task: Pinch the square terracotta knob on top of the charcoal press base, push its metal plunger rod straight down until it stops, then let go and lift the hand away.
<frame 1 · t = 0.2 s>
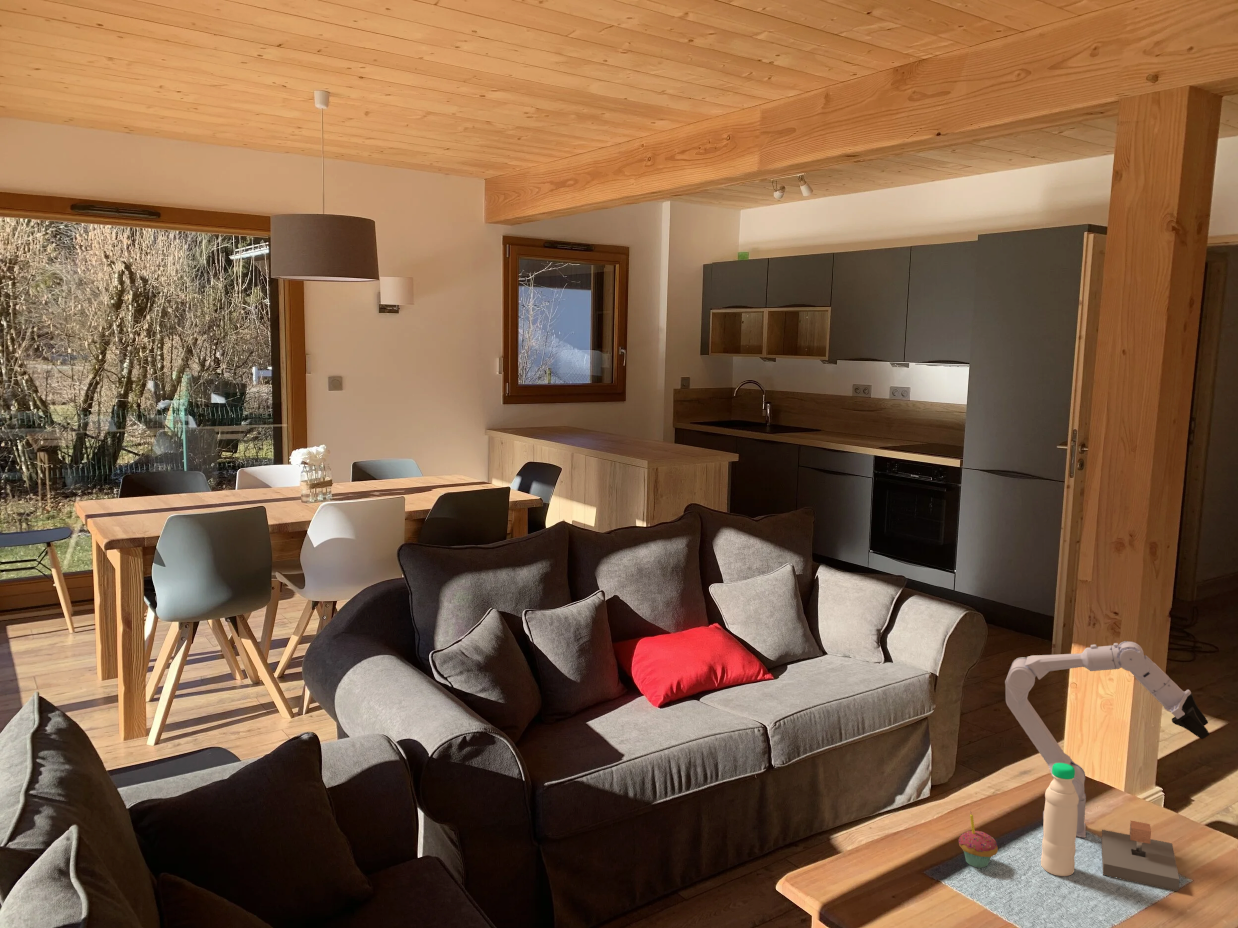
hand: (1205, 730, 225), 31 cm above the table, tool tilted 45°, fingers open, 7 cm apart
cupcake: (977, 862, 224), on the table
press base: (1137, 864, 224), on the table
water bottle: (1057, 870, 221), on the table
plunger: (1138, 852, 224), point 3 cm above the table, slide at 3.0 cm
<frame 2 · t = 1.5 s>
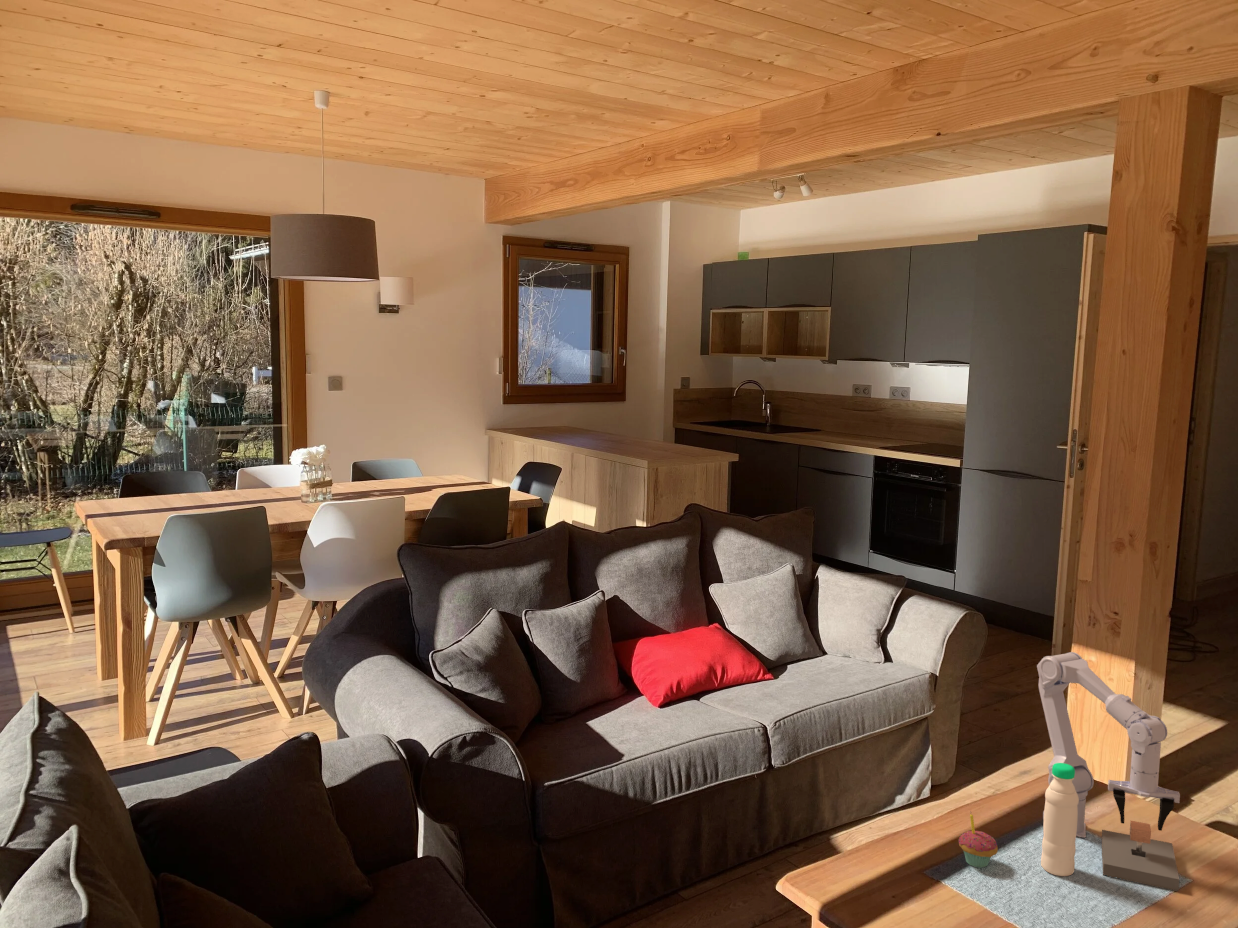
hand: (1140, 824, 223), 10 cm above the table, tool pointing down, fingers open, 7 cm apart
nothing on the table moved.
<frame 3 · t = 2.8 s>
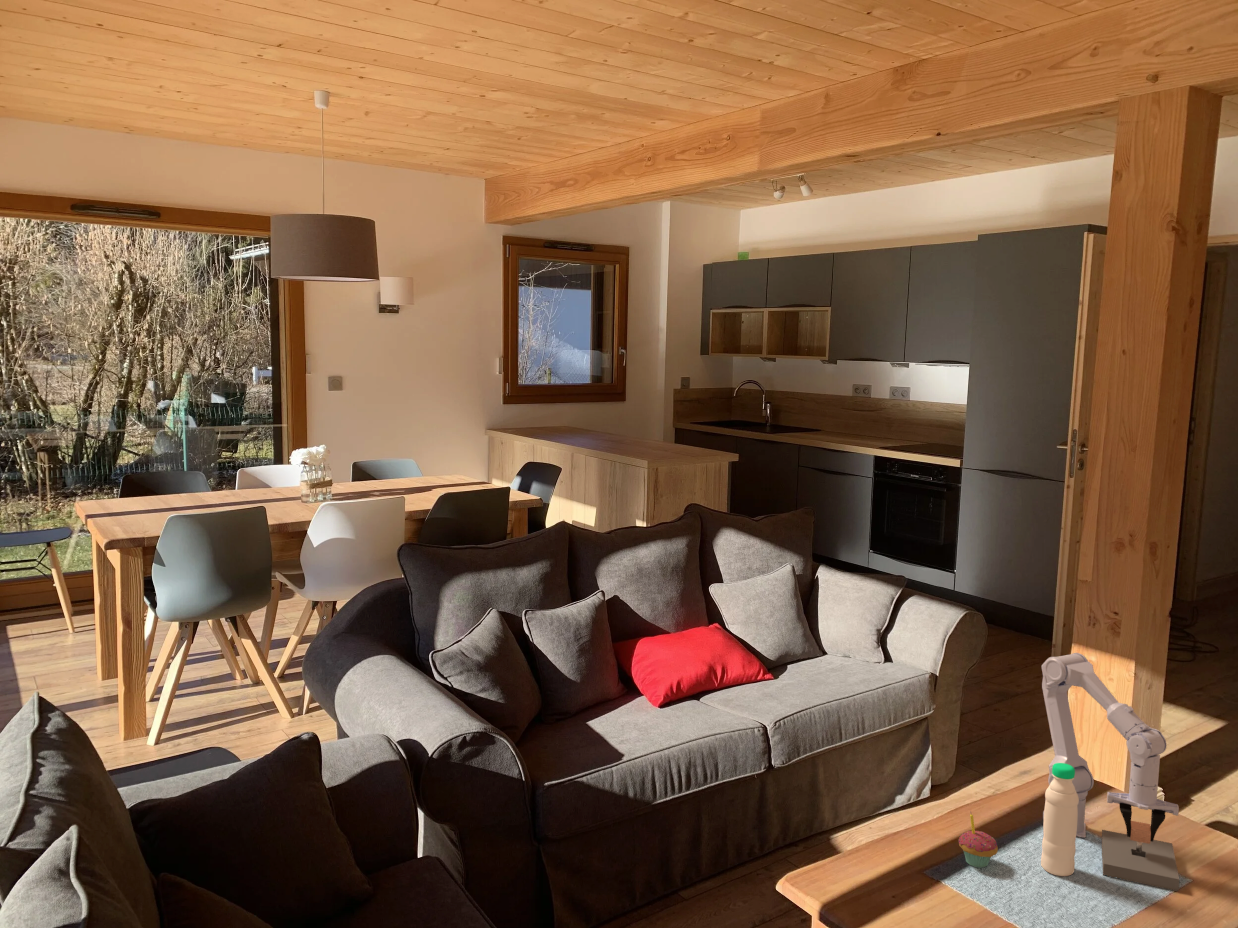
hand: (1139, 837, 223), 7 cm above the table, tool pointing down, fingers closed on plunger, 4 cm apart
plunger: (1138, 852, 224), point 3 cm above the table, slide at 3.0 cm, touching gripper
everything else where it was.
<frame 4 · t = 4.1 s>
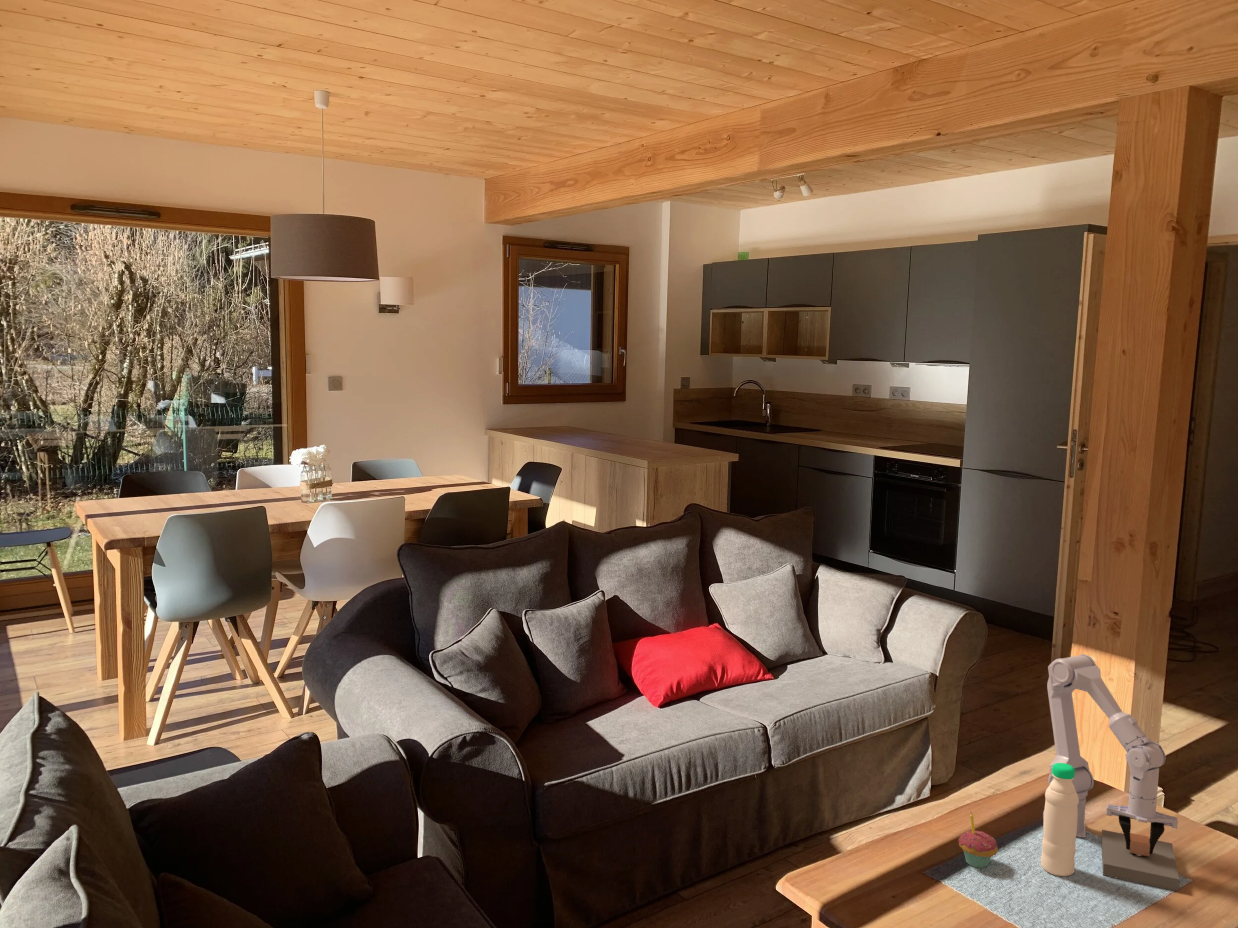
hand: (1138, 849, 224), 4 cm above the table, tool pointing down, fingers closed on plunger, 4 cm apart
plunger: (1137, 864, 224), resting on press base, slide at -0.1 cm, touching gripper
everything else where it was.
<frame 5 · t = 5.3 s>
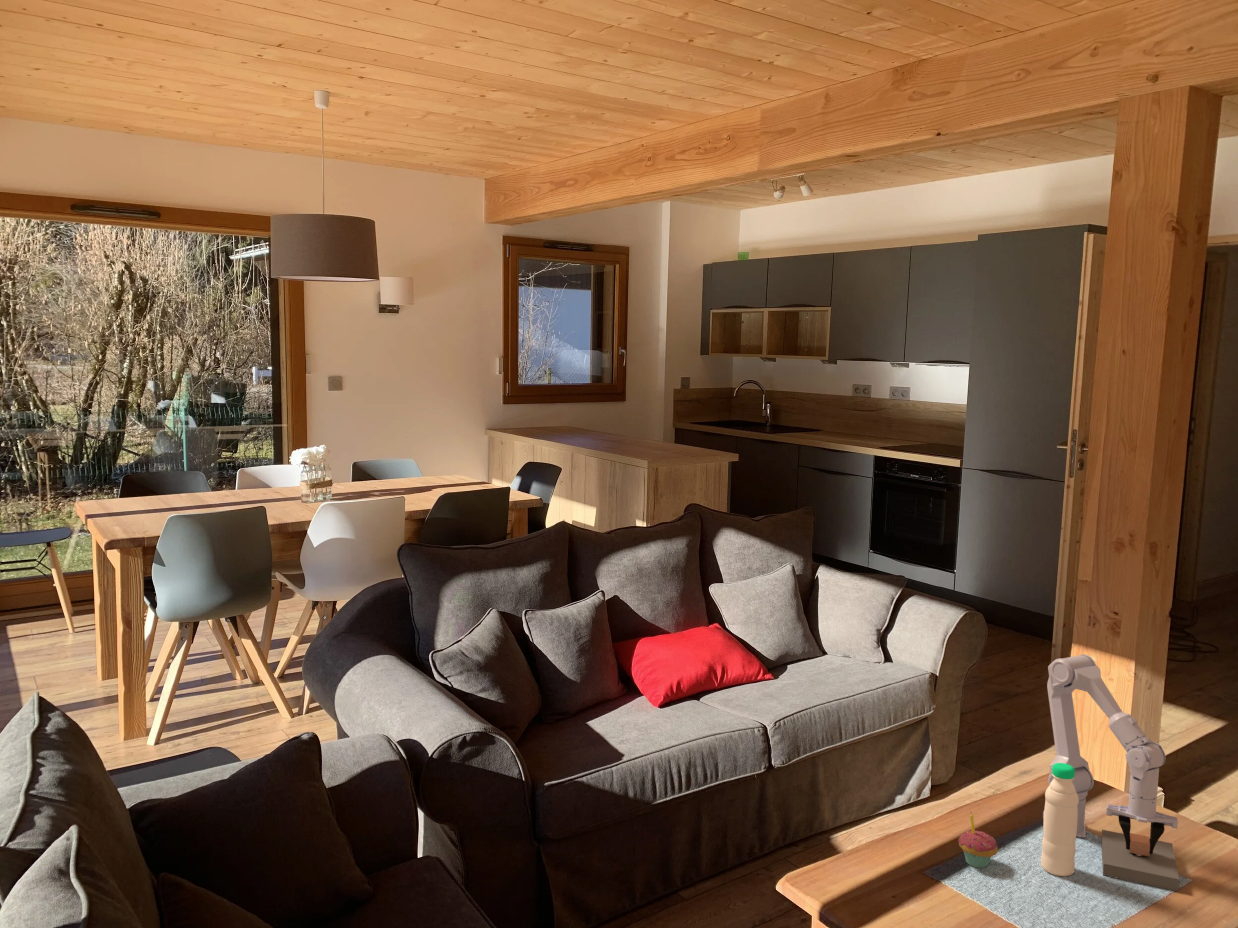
hand: (1138, 849, 224), 4 cm above the table, tool pointing down, fingers open, 4 cm apart
plunger: (1137, 864, 224), resting on press base, slide at -0.1 cm, touching gripper
everything else where it was.
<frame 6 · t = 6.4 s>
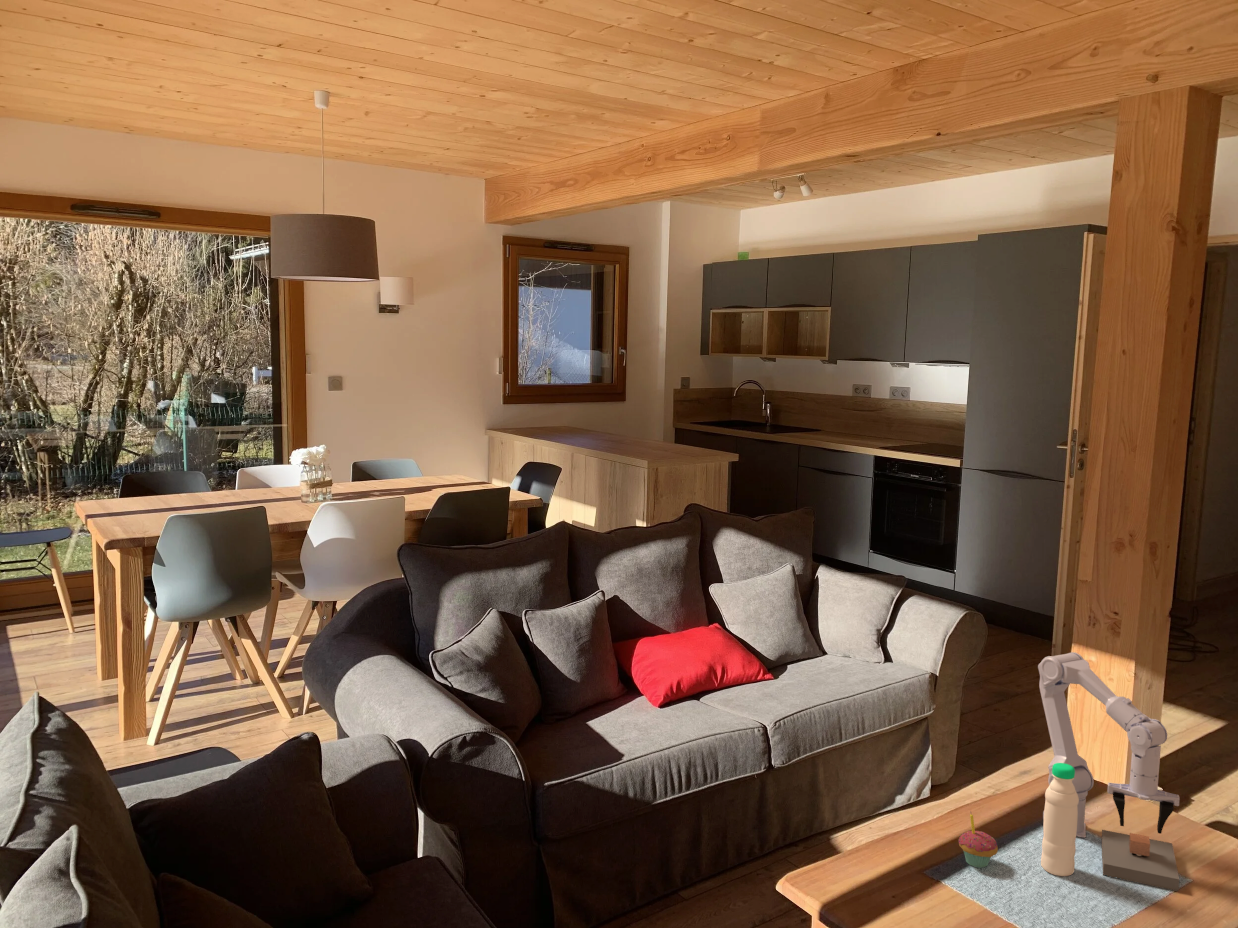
hand: (1140, 827, 223), 9 cm above the table, tool pointing down, fingers open, 7 cm apart
plunger: (1137, 864, 224), resting on press base, slide at -0.1 cm
everything else where it was.
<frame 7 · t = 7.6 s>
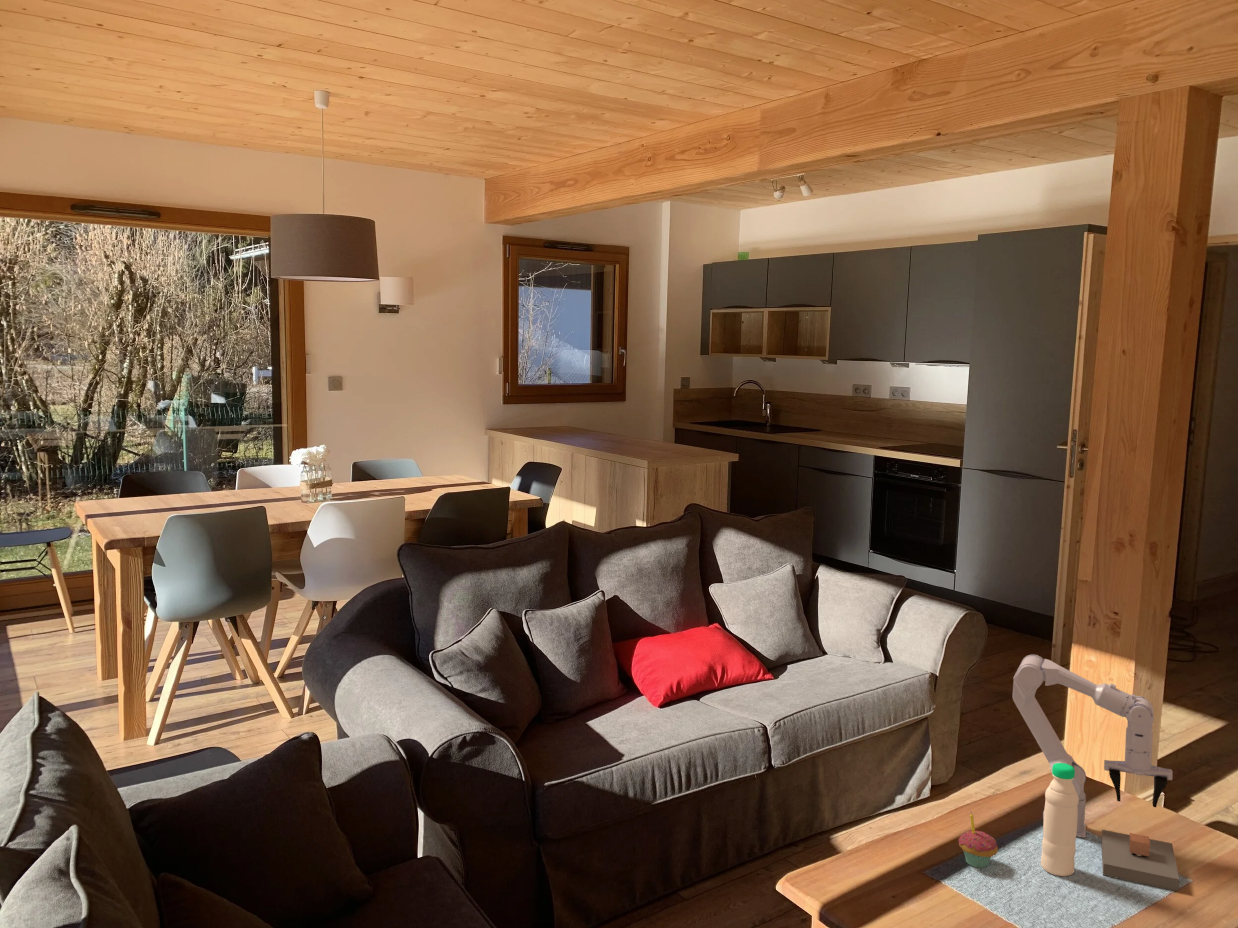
hand: (1136, 802, 233), 10 cm above the table, tool pointing down, fingers open, 7 cm apart
nothing on the table moved.
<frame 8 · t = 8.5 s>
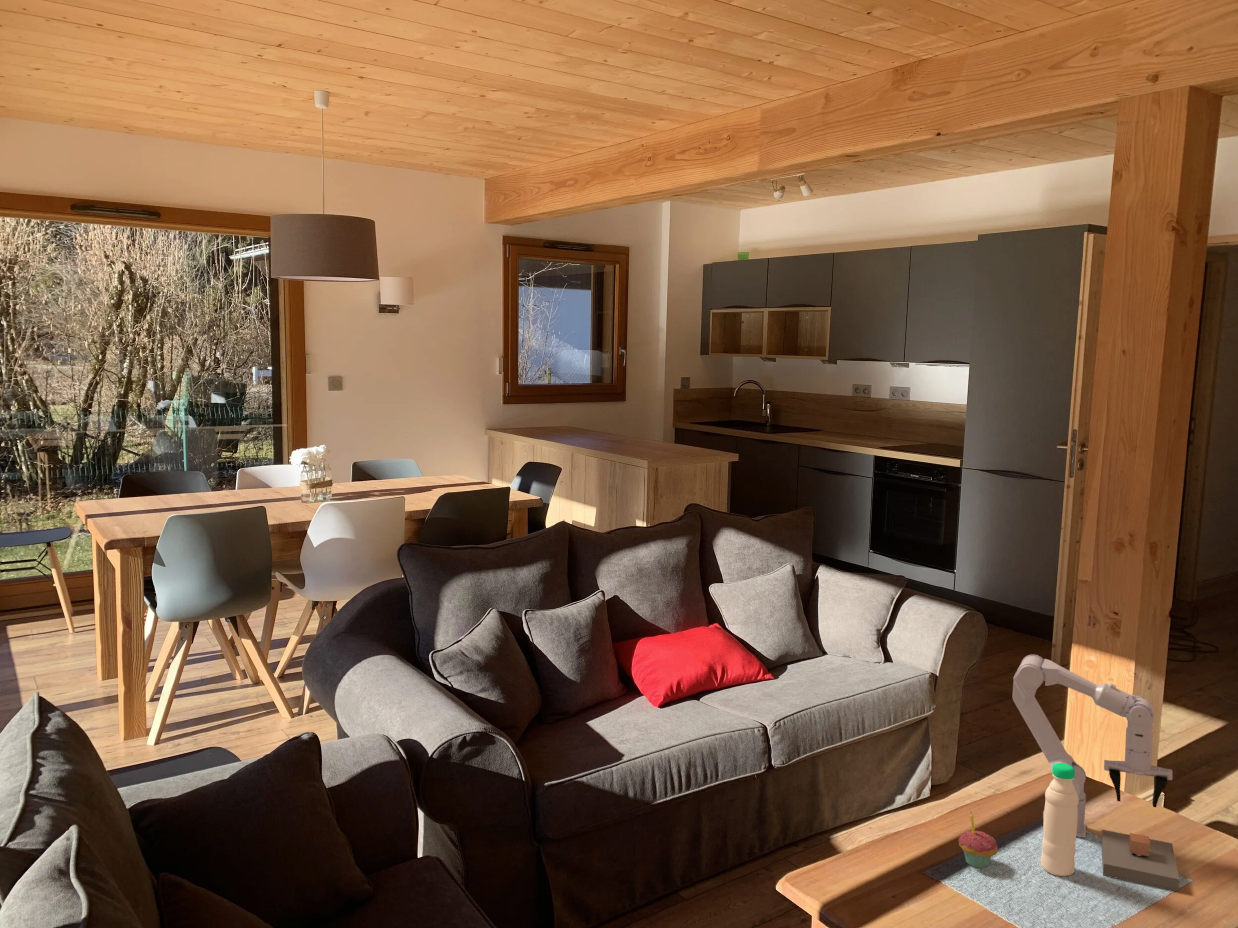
hand: (1136, 802, 233), 10 cm above the table, tool pointing down, fingers open, 7 cm apart
nothing on the table moved.
at the end: plunger slide at -0.1 cm; the gripper is holding nothing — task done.
